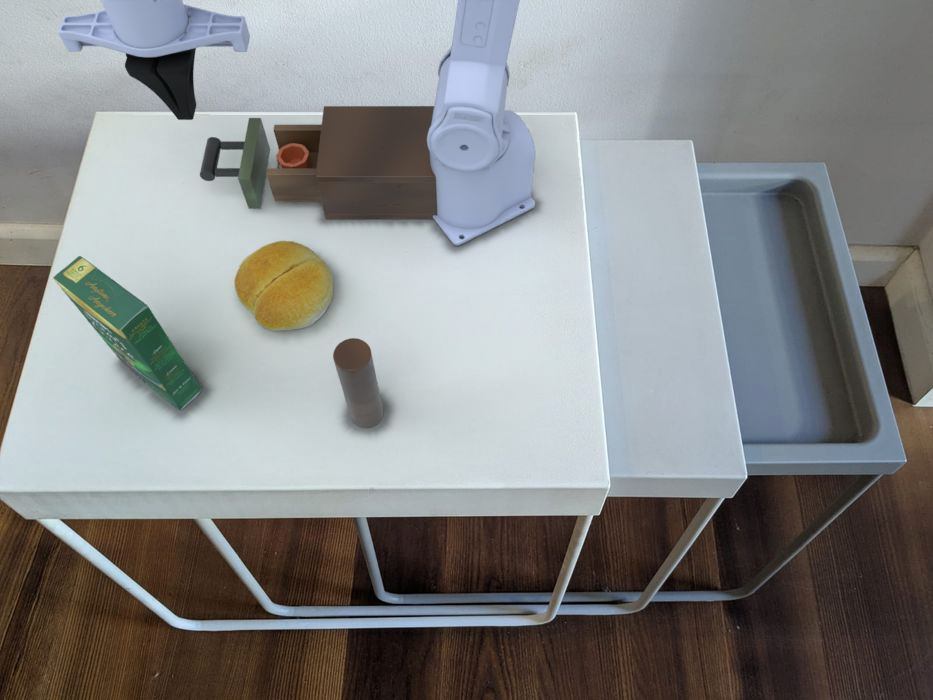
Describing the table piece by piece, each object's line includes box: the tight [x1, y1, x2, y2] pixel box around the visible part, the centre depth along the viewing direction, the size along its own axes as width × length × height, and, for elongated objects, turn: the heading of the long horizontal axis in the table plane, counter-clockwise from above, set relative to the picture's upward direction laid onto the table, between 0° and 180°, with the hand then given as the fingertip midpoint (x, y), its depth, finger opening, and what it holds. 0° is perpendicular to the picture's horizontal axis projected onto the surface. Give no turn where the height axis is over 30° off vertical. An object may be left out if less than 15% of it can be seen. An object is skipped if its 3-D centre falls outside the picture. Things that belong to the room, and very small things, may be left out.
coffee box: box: [52, 255, 203, 411], centre depth 61 cm, size 8×3×13 cm, turn 52°
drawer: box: [199, 117, 322, 210], centre depth 75 cm, size 15×8×4 cm, turn 90°
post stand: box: [332, 337, 384, 429], centre depth 61 cm, size 3×3×10 cm
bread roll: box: [234, 240, 335, 332], centre depth 70 cm, size 8×9×4 cm
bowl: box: [275, 143, 312, 168], centre depth 75 cm, size 3×3×2 cm
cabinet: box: [316, 105, 437, 220], centre depth 75 cm, size 12×9×6 cm
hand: (187, 112), depth 70 cm, fingers closed
